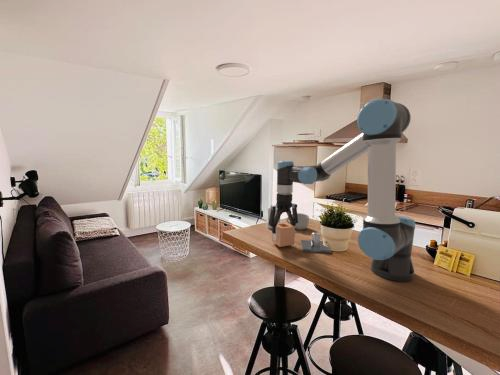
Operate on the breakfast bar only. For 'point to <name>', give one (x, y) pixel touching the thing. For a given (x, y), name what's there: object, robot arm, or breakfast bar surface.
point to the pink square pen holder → (285, 234)
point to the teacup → (301, 221)
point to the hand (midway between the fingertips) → (283, 238)
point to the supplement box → (269, 216)
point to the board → (313, 248)
